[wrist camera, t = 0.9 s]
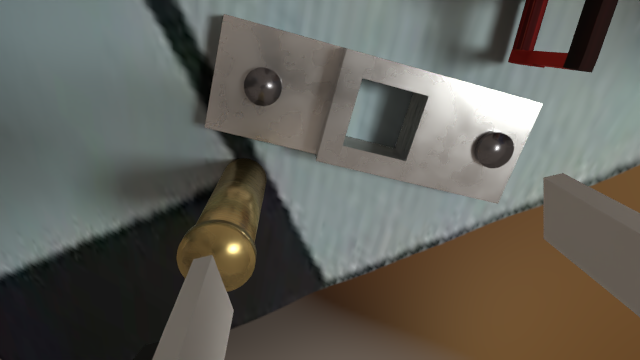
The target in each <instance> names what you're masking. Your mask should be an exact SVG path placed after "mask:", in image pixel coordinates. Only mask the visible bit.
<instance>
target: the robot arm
mask: <svg viewBox="0 0 640 360" xmlns="http://www.w3.org/2000/svg"><path fill="white" fill-rule="evenodd" d="M544 239H545V240H546V241H547V242H549V243H550V244H551V245H552V246H554V247H555V248H556V249H557V250H559V251H560V252H561V253H562V254H563V255H565V256H566V257H567V258H568V259H570V260H571V261H572V262H573V263H574V264H576V265H577V266H578V267H579V268H580V269H582V270H583V271H584V272H586V273H587V274H588V275H589V276H590V277H591V278H593V279H594V280H595V281H596V282H598V283H599V284H600V285H601V286H603V287H604V288H605V289H606V290H607V291H609V292H610V293H611V294H612V295H613V296H615V297H616V298H617V299H619V300H620V301H621V302H622V303H623V304H625V305H626V306H627V307H628V308H630V309H631V310H632V311H633V312H634V313H635V314H637V315H638V316H639V317H640V213H638V212H636V211H634V210H632V209H630V208H628V207H626V206H625V205H623V204H621V203H619V202H617V201H615V200H613V199H611V198H609V197H607V196H606V195H603V194H602V193H600V192H598V191H596V190H594V189H592V188H590V187H588V186H586V185H585V184H583V183H581V182H579V181H577V180H575V179H573V178H571V177H569V176H567V175H565V174H563V173H562V174H558V175H553V176H549V177H545V178H544ZM233 311H234V310H233V308H232V305H231V302H230V300H229V297H228V294H227V292H226V289H225V286H224V284H223V281H222V279H221V276H220V273H219V271H218V268H217V265H216V263H215V260H214V257H213V255H210V256H205V257H201V258H197V259H193V261H192V264H191V266H190V269H189V271H188V274H187V276H186V278H185V281H184V283H183V286H182V288H181V291H180V293H179V296H178V298H177V300H176V303H175V305H174V308H173V310H172V313H171V315H170V317H169V320H168V322H167V325H166V327H165V330H164V332H163V334H162V337H161V339H160V342H155V343H151V344H147V345H145V346H144V347H143V348H142V349H141V351H140V352H139V353H138V354H137V355H136V356H135V358H134V359H133V360H224V357H225V352H226V346H227V341H228V337H229V332H230V326H231V321H232V316H233Z"/></svg>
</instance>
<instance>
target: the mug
mask: <svg viewBox="0 0 640 360" xmlns="http://www.w3.org/2000/svg"><path fill="white" fill-rule="evenodd" d="M547 3H548V0H526V3H525V6H524V10H523V13H522V17H521V20H520V24H519V28H518V31H517V35H516V38H515V42H514V45H513V49H512V51H511V54H510V57H509V60H508V62H510V63H515V64H520V65H528V66H535V67H543V68H544V67H545V66H546V67H554V68H562V69H570V70H577V71H585V72H592V71H593V68H594V66H595V64H596V61H597V59H598V56H599V53H600V50H601V48H602V45H603V42H604V39H605V36H606V34H607V31H608V28H609V25H610V22H611V19H612V17H613V14H614V11H615V8H616V5H617V3H618V0H586V1H585V4H584V7H583V10H582V13H581V16H580V19H579V22H578V25H577V28H576V31H575V34H574V37H573V40H572V43H571V46H570V49H569V52H568V53H557V52H543V51H533V50H534V46H535V43H536V40H537V36H538V33H539V30H540V26H541V23H542V20H543V16H544V13H545V10H546V6H547Z"/></svg>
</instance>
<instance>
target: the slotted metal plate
mask: <svg viewBox="0 0 640 360" xmlns="http://www.w3.org/2000/svg"><path fill="white" fill-rule="evenodd" d="M362 78H364V79H367V80H371V81H375V82H379V83H382V84H386V85H390V86H393V87H397V88H401V89H404V90H408V91H412V92H413V95H412V98H411V101H410V104H409V107H408V110H407V113H406V116H405V119H404V122H403V125H402V128H401V131H400V133H399V136H398V139H397V142H396V145H395V148H392V147H388V146H384V145H380V144H376V143H372V142H368V141H364V140H360V139H356V138H352V137H348V136H346V132H347V129H348V125H349V122H350V119H351V115H352V112H353V108H354V105H355V102H356V98H357V95H358V91H359V88H360V85H361V81H362ZM542 105H543V104H542V103H538V102H535V101H531V100H528V99H524V98H520V97H517V96H513V95H510V94H506V93H503V92H499V91H496V90H492V89H489V88H485V87H481V86H478V85H474V84H471V83H467V82H464V81H460V80H457V79H453V78H449V77H446V76H442V75H439V74H435V73H432V72H428V71H425V70H421V69H417V68H414V67H410V66H407V65H403V64H400V63H396V62H393V61H389V60H386V59H382V58H378V57H375V56H371V55H368V54H364V53H361V52H357V51H354V50H350V49H346V48H343V47H339V46H336V45H332V44H329V43H325V42H322V41H318V40H314V39H311V38H307V37H304V36H300V35H297V34H293V33H290V32H286V31H282V30H279V29H275V28H272V27H268V26H265V25H261V24H258V23H254V22H251V21H247V20H243V19H240V18H236V17H233V16H229V15H226V14H224V16H223V22H222V28H221V34H220V39H219V45H218V51H217V57H216V63H215V69H214V75H213V81H212V87H211V93H210V99H209V105H208V111H207V116H206V122H205V128H209V129H213V130H217V131H222V132H226V133H230V134H234V135H238V136H243V137H247V138H251V139H255V140H259V141H264V142H268V143H272V144H276V145H280V146H285V147H289V148H293V149H297V150H301V151H305V152H310V153H314V154H315V156H316V161H319V162H324V163H328V164H332V165H336V166H341V167H345V168H349V169H353V170H357V171H362V172H366V173H370V174H374V175H379V176H383V177H387V178H391V179H396V180H400V181H404V182H408V183H413V184H417V185H421V186H425V187H429V188H434V189H438V190H442V191H446V192H451V193H455V194H459V195H463V196H468V197H472V198H476V199H480V200H485V201H489V202H493V203H497V204H498V202H499V200H500V198H501V195H502V193H503V191H504V189H505V186H506V184H507V182H508V180H509V178H510V175H511V173H512V171H513V169H514V167H515V164H516V162H517V160H518V158H519V156H520V153H521V151H522V149H523V147H524V144H525V142H526V140H527V138H528V136H529V133H530V131H531V129H532V127H533V125H534V122H535V120H536V118H537V116H538V114H539V111H540V109H541V107H542Z"/></svg>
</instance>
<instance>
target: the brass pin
mask: <svg viewBox="0 0 640 360" xmlns="http://www.w3.org/2000/svg"><path fill="white" fill-rule="evenodd" d="M265 186H266V174H265V171H264V169H263V168H262V167H261V166H260V165H259V164H258V163H257V162H255V161H253V160H250V159H237V160H235V161H233V162H231V163H230V164H229V165H228V166H227V167H226V169H225V170H224V172H223V174H222V176H221V178H220V180H219V182H218V184H217V186H216V188H215V189H214V191H213V193H212V195H211V197H210V199H209V201H208V203H207V205H206V207H205V209H204V210H203V212H202V214H201V216H200V218H199V220H198V222H197V224H196V225H195V226H193V227H192V228H191V229H190V230H189V231H188V232H187V233H186V234H185V236H184V238H183V239H182V241H181V243H180V245H179V248H178V251H177V264H178V267H179V270H180V272H181V273H182V275H183V276H184V278H186V276H187V274H188V271H189V269H190V266H191V264H192V261H193V259H197V258H201V257H205V256H210V255H213V257H214V260H215V263H216V265H217V268H218V271H219V273H220V276H221V279H222V281H223V284H224V286H225V289H226V292H227V291H231V290H234V289H236V288H238V287H240V286H242V285H243V284H244V283H245V282H246V281H247V280H248V279H249V278H250V276H251V275H252V273H253V270H254V267H255V261H256V247H255V244H254V241H255V236H256V231H257V226H258V221H259V216H260V211H261V206H262V201H263V196H264V191H265Z"/></svg>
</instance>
